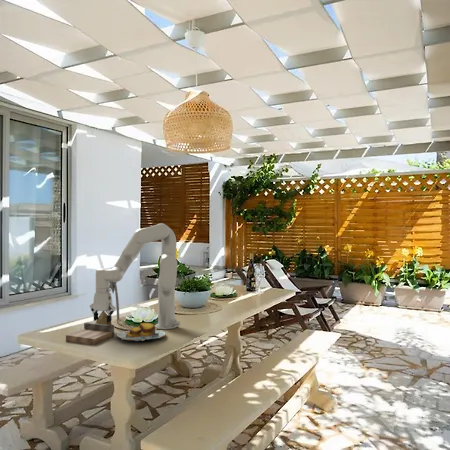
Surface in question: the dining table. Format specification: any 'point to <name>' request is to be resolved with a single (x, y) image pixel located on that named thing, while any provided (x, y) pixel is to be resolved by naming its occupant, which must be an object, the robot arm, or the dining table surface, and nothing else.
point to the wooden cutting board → (92, 333)
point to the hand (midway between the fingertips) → (102, 321)
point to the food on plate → (141, 333)
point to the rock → (103, 319)
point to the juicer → (114, 287)
